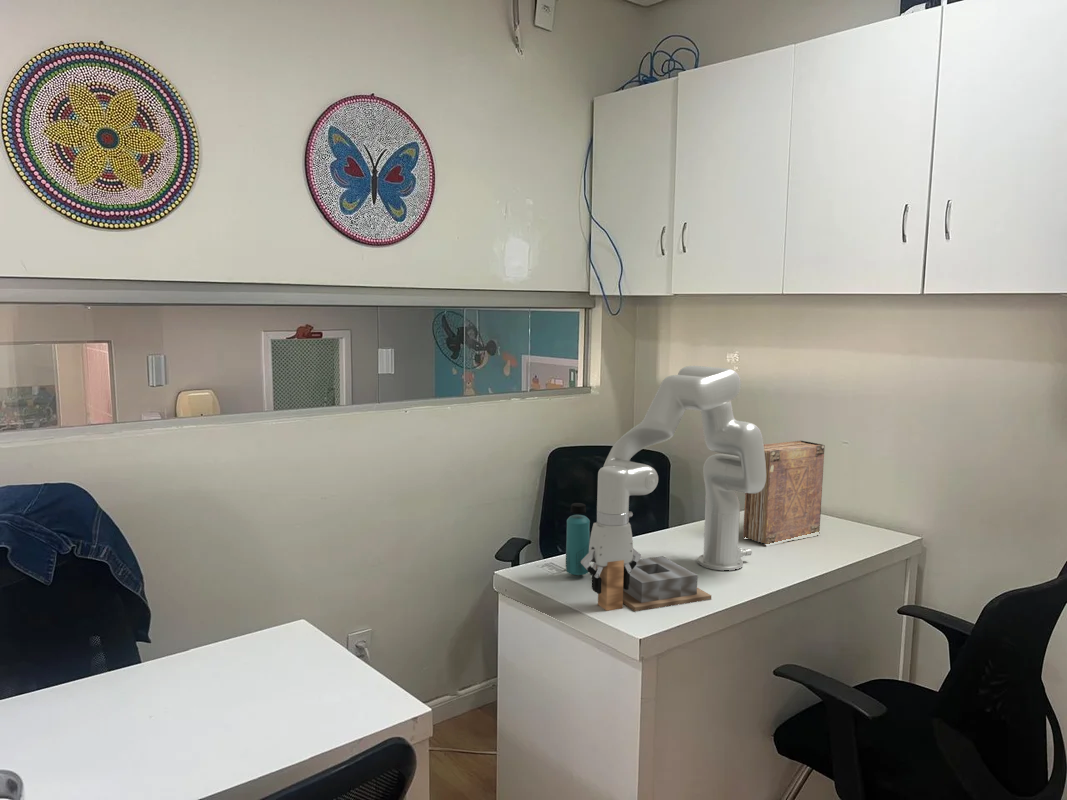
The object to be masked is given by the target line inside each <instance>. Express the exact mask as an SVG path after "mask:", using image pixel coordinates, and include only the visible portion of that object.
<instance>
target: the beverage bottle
mask: <svg viewBox="0 0 1067 800" xmlns="http://www.w3.org/2000/svg"><path fill="white" fill-rule="evenodd" d="M586 508H587V506H586V504H585V503H583V502H582V503H581V502H574V503H571V505H570V513H572V514H573V515H570V516H569V517H568V518H567V519H566V540H565V542H566V543H565V569H566V572H567V574H569V575H573V576H574V575H575V576H582V575H587V574H589V572H588V571H587V570H586V568H585V567H584V566H583V565H582V564H581V560H582V559H583V558H584V557H585V556H586V555H587V554H588V553H589V544H590V537H591V534H590V530H591V529H590V527H591V525H590V523H591V520H590V519H589V518H588V517H587V516H586V515H583V514H586V513H587V509H586Z"/></svg>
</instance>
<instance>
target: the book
mask: <svg viewBox="0 0 1067 800" xmlns="http://www.w3.org/2000/svg"><path fill="white" fill-rule="evenodd" d="M763 444H764V443H763ZM825 448H826V446H825V444H823V443H822V444H821V443H815V442H810V441H805V440H795V441H785V442H784V441H783V442H777V443H775V442H774V443H766V444H764V453H765V463H766V483H765V486H764V488H763V489H762V490H761V491H760V492H758V493H755V494H750V493H744V509H743V513H744V514H743V528H742V530H743V531H742V538H743V537H744V538H745V537H746V538H749V539H748V540H750V539H752V540H751V541H753V540H755V541H754V542H756V541H758V542H757V543H759V542H761V543H760V544H762V543H765V544H770V543H774V542H778V541H782V540H786V539H791V538H794V537H798V536H802V535H807V534H811V533H815V532H819V531H820V529H821V512H822V496H823V478H824V464H825V463H824V462H825ZM819 533H820V532H819ZM765 544H764V545H765Z"/></svg>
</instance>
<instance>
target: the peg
mask: <svg viewBox="0 0 1067 800" xmlns="http://www.w3.org/2000/svg"><path fill="white" fill-rule="evenodd" d="M623 575H624V560H621V561H613V562H608V563H607V566H606V567H603V569H602V571H601V574H600V576H599V577H601V593H600V594H597V605H598V606H599V607H600V608H601V609H603V610H604V611H606V612H608V611H615V610H622V609H624V607H623V604H624V603H623Z"/></svg>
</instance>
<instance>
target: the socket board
mask: <svg viewBox="0 0 1067 800" xmlns="http://www.w3.org/2000/svg"><path fill="white" fill-rule="evenodd" d="M707 599H710V600H712V594H710V593H708V592H706V591H705V590H703V589H701V588H699V587H698V574H697V573H695V572H692V570H689V569H687V568H685V567H684V566H681V565H679V564H678V563H676V562H674V561H672V560H670V559H669V558H666V557H665V556H664V555H663V556H655V557H647V558H640V559H639V561H638V562H637V563H636V566H635V567H634V568H633V569H632V573H630V583H629V589H628V590H625V589H624V588H623V604H624V605H625V606H627V608H629V609H631V610H632V611H633V612H641V611H646V610H653V609H659V607H660V608H665V606H666V607H671V605H672V606H678V604H679V605H684V603H685V604H691V603H697V601H698V602H702V600H704V601H708V600H707ZM690 602H691V603H690Z"/></svg>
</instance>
